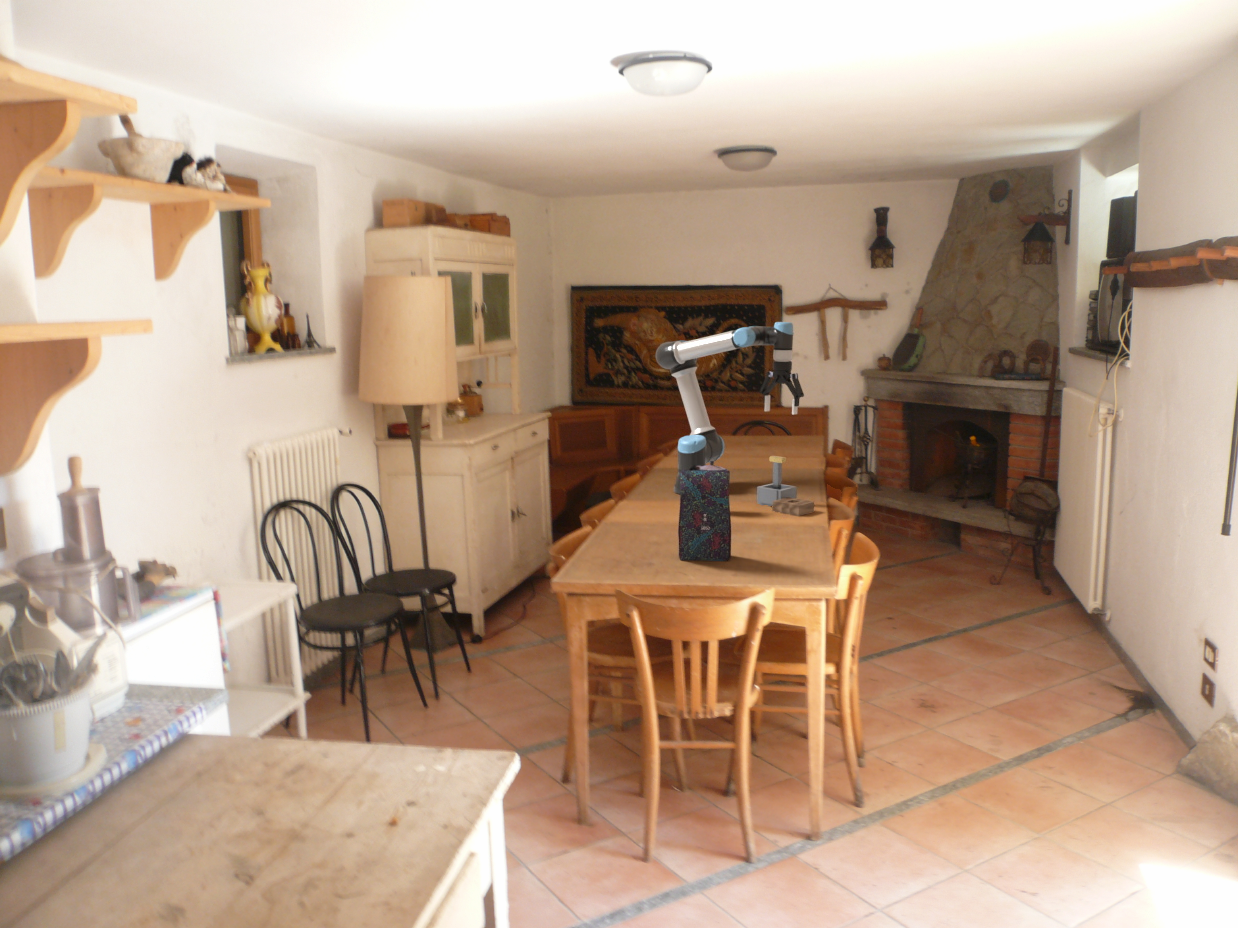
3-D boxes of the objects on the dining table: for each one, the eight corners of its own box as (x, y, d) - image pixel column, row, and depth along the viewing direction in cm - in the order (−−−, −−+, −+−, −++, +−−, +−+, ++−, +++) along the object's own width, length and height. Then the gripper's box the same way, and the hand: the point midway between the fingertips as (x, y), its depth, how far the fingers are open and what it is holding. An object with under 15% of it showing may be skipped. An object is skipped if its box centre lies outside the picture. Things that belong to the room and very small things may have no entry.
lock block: (772, 511, 367) (772, 501, 366) (787, 507, 374) (788, 497, 373) (798, 516, 358) (798, 505, 358) (813, 511, 365) (814, 501, 365)
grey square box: (756, 504, 379) (756, 487, 378) (773, 499, 387) (773, 482, 386) (779, 508, 371) (780, 490, 370) (797, 504, 379) (797, 486, 378)
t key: (768, 501, 380) (769, 456, 377) (772, 500, 382) (773, 455, 379) (781, 503, 376) (782, 458, 373) (784, 502, 378) (785, 457, 375)
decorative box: (679, 553, 308) (679, 467, 303) (730, 554, 306) (731, 468, 301) (678, 560, 300) (678, 472, 295) (730, 561, 298) (731, 473, 293)
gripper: (814, 361, 382) (811, 414, 386) (763, 358, 399) (761, 409, 403) (803, 362, 377) (801, 416, 380) (752, 359, 394) (750, 410, 398)
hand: (780, 412), depth 392 cm, fingers open, 13 cm apart
